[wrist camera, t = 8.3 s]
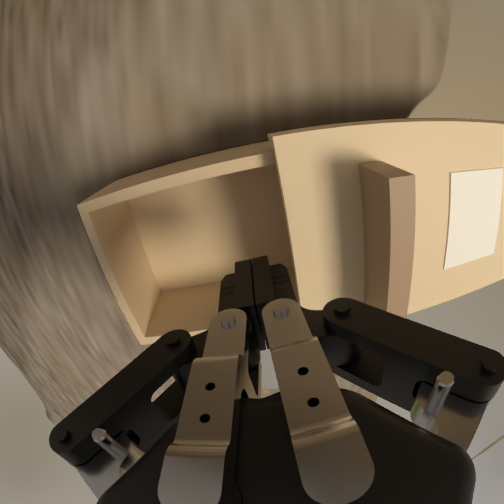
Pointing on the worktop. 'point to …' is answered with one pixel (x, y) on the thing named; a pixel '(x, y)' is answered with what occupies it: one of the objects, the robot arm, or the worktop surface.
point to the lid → (393, 210)
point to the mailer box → (186, 235)
